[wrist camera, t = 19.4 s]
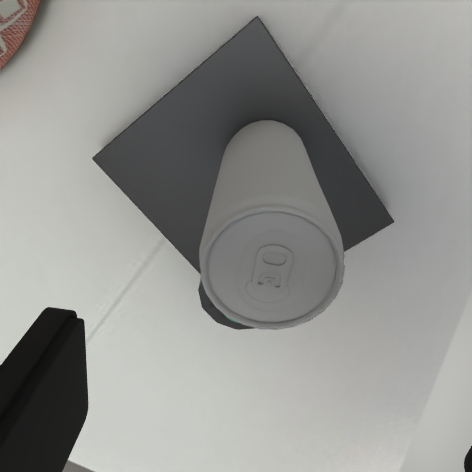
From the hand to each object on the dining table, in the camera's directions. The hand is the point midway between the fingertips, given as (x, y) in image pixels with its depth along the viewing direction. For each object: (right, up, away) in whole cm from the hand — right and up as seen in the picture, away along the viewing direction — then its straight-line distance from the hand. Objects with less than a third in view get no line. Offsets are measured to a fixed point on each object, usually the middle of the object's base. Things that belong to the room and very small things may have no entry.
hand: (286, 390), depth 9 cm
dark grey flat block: (0, +7, +17) cm, 19 cm away
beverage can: (+1, +8, +15) cm, 17 cm away
